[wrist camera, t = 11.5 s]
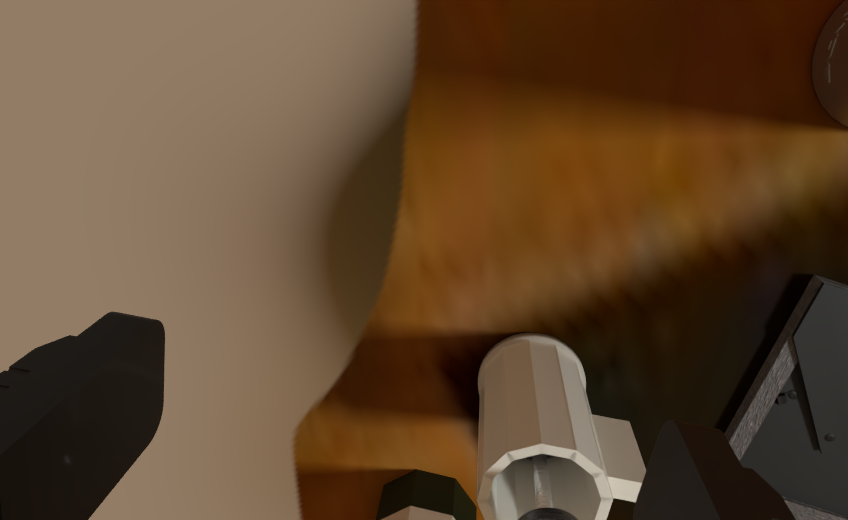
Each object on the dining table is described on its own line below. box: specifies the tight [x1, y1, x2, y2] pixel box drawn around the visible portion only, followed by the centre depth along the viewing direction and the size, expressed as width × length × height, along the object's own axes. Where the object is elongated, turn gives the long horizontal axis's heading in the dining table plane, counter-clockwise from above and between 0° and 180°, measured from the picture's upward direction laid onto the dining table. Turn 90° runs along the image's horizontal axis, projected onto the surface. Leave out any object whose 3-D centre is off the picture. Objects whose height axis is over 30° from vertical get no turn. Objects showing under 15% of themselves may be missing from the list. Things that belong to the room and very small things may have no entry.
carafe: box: [477, 333, 646, 520], centre depth 42 cm, size 10×8×13 cm
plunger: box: [518, 454, 578, 520], centre depth 37 cm, size 5×5×13 cm
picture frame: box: [724, 275, 848, 520], centre depth 46 cm, size 13×2×18 cm
